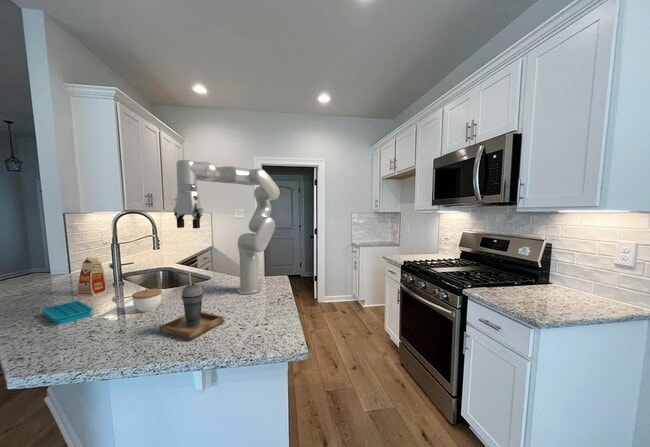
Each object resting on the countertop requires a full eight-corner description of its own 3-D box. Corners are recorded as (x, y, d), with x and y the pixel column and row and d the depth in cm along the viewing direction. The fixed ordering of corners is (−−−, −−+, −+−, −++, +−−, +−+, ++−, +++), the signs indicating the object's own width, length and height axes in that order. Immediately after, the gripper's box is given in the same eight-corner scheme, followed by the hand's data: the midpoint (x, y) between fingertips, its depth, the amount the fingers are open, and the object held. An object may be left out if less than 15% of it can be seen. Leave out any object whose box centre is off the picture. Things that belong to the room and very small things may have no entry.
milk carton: (93, 296, 130) (91, 257, 129) (75, 296, 130) (73, 257, 129) (108, 290, 139) (107, 254, 138) (92, 290, 139) (90, 254, 138)
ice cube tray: (78, 306, 117) (78, 300, 117) (94, 316, 106) (94, 309, 106) (41, 315, 107) (40, 308, 107) (55, 327, 96) (55, 319, 96)
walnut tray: (195, 316, 105) (195, 310, 105) (223, 322, 99) (223, 316, 99) (160, 332, 91) (159, 326, 91) (189, 341, 85) (189, 333, 85)
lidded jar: (162, 310, 111) (161, 289, 110) (131, 316, 105) (130, 294, 105) (162, 303, 120) (161, 283, 120) (134, 308, 114) (133, 287, 114)
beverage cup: (195, 330, 91) (193, 275, 90) (177, 328, 92) (175, 274, 91) (208, 321, 98) (206, 270, 97) (192, 319, 99) (190, 269, 98)
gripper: (208, 189, 111) (209, 227, 112) (181, 190, 117) (182, 227, 118) (194, 187, 104) (195, 229, 105) (165, 189, 110) (167, 228, 111)
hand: (188, 228), depth 112 cm, fingers open, 9 cm apart
